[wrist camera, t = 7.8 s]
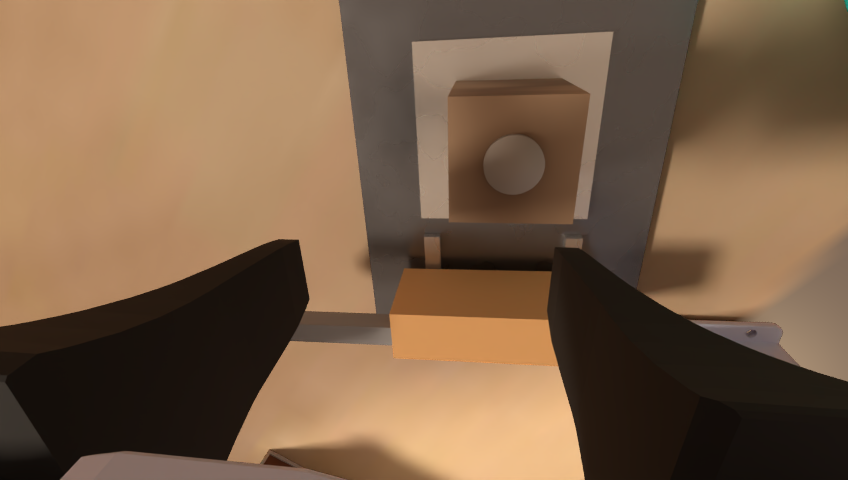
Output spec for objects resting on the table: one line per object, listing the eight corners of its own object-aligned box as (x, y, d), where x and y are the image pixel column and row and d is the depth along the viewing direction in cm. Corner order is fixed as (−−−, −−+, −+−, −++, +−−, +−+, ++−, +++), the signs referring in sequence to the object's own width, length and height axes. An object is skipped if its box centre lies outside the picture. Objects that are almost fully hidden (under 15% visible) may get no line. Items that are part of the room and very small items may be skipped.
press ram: (603, 272, 20) (675, 412, 13) (596, 313, 22) (659, 465, 14) (269, 265, 23) (164, 381, 15) (278, 303, 24) (185, 428, 16)
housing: (561, 78, 17) (592, 94, 12) (551, 179, 19) (574, 227, 14) (455, 81, 18) (446, 98, 13) (455, 179, 20) (448, 225, 15)
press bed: (706, -65, 15) (751, -84, 13) (624, 329, 23) (642, 365, 21) (337, -36, 17) (312, -48, 14) (379, 320, 25) (368, 352, 22)
